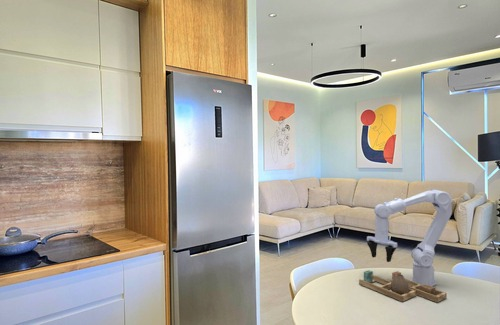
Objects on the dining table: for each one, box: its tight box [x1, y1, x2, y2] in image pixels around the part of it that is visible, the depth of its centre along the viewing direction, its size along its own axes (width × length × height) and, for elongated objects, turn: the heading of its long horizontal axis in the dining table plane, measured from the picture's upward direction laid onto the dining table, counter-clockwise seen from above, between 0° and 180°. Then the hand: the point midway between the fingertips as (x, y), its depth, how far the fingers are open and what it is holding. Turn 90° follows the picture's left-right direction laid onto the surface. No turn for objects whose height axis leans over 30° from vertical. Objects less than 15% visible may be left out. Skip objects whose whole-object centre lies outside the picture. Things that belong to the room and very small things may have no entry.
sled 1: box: [358, 269, 417, 302], centre depth 136 cm, size 10×20×5 cm, turn 33°
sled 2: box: [389, 270, 447, 303], centre depth 135 cm, size 8×20×5 cm, turn 33°
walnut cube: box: [421, 284, 437, 296], centre depth 131 cm, size 4×4×4 cm
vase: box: [390, 273, 409, 295], centre depth 131 cm, size 7×7×9 cm
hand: (381, 259), depth 146 cm, fingers open, 7 cm apart
